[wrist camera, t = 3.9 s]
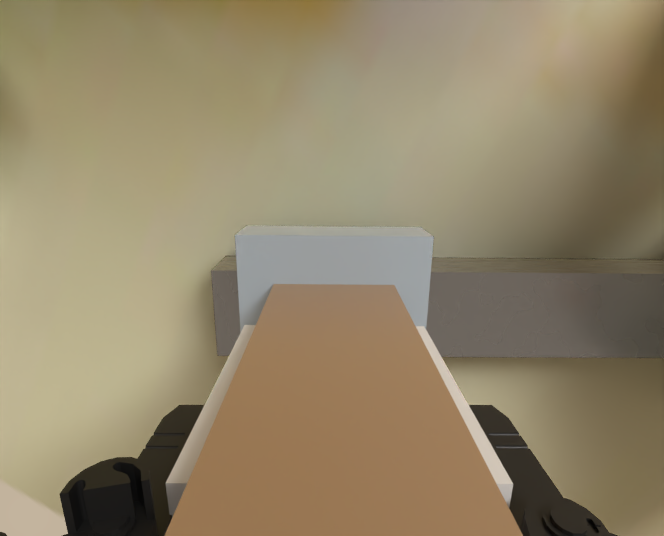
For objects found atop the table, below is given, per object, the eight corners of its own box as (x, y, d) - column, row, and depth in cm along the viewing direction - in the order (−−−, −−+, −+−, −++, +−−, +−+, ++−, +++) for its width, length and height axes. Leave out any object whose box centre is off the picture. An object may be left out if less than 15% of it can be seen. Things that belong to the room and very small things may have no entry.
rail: (225, 256, 19) (211, 270, 17) (716, 260, 19) (771, 274, 17) (230, 331, 20) (217, 355, 18) (695, 334, 20) (744, 358, 18)
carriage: (254, 218, 18) (21, 412, 4) (411, 219, 18) (670, 415, 4) (261, 378, 20) (121, 838, 6) (401, 379, 20) (551, 835, 6)
